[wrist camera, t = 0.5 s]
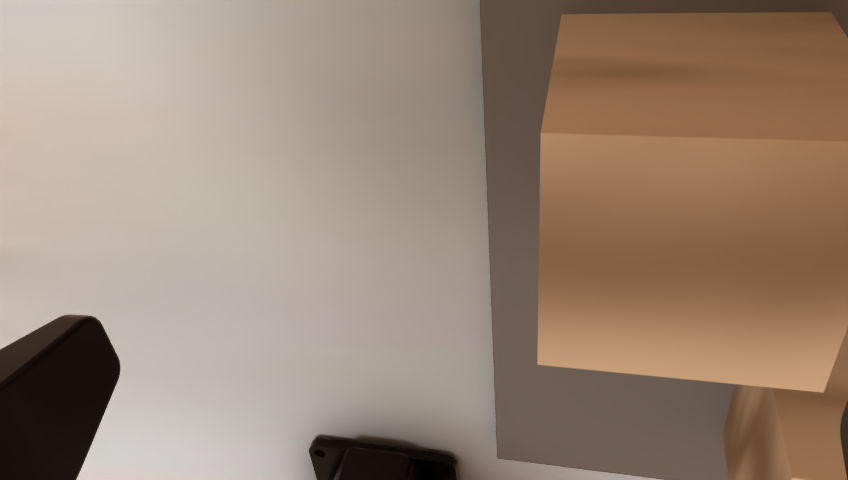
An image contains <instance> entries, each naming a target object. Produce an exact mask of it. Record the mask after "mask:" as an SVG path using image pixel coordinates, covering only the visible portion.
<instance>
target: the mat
mask: <svg viewBox="0 0 848 480" xmlns="http://www.w3.org/2000/svg"><path fill="white" fill-rule="evenodd" d="M754 12H831V13H832V14H833V16H834V17H835V19H836V20H837V22H838V23H839V25H840V27H841V28H842V30H843V31H844V33H845V34H846V36H847V38H848V0H480V18H481V44H482V70H483V96H484V123H485V149H486V175H487V201H488V228H489V254H490V280H491V306H492V333H493V359H494V385H495V411H496V438H497V458H499V459H507V460H515V461H523V462H531V463H538V464H546V465H554V466H562V467H570V468H578V469H586V470H593V471H601V472H609V473H617V474H625V475H633V476H641V477H648V478H656V479H664V480H729V477H728V470H727V463H726V455H725V448H724V441H723V431H724V427H725V423H726V419H727V415H728V412H729V408H730V404H731V400H732V396H733V392H734V388H735V384H730V383H719V382H709V381H699V380H688V379H678V378H668V377H658V376H647V375H637V374H627V373H617V372H606V371H596V370H586V369H576V368H565V367H555V366H545V365H537V355H538V284H539V212H540V141H541V128H542V122H543V117H544V111H545V105H546V100H547V94H548V88H549V82H550V77H551V71H552V65H553V60H554V54H555V48H556V43H557V37H558V31H559V26H560V20H561V14H631V13H754Z"/></svg>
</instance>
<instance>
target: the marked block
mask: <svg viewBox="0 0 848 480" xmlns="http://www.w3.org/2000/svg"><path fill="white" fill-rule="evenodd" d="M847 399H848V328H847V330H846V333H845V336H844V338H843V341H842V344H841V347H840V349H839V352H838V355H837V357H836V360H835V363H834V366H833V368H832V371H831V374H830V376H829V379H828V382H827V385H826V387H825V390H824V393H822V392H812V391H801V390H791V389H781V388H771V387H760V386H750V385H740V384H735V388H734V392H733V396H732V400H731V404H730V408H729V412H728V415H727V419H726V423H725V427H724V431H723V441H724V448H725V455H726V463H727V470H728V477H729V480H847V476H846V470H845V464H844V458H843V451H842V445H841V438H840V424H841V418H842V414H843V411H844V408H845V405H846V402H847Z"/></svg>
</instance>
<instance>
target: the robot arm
mask: <svg viewBox="0 0 848 480" xmlns="http://www.w3.org/2000/svg"><path fill="white" fill-rule="evenodd" d="M119 375H120V361H119V358H118V356H117V354H116V352H115V350H114V348H113V346H112V344H111V342H110V340H109V338H108V336H107V334H106V332H105V330H104V328H103V326H102V324H101V322H100V321H99V320H98V319H97V318H95V317H93V316H87V315H71V314H70V315H64V316H61V317H59V318H57V319H55V320H53V321H51V322H50V323H48V324H46V325H44V326H42V327H40V328H39V329H37V330H35V331H33V332H31V333H30V334H28V335H26V336H24V337H22V338H20V339H19V340H17V341H15V342H13V343H11V344H10V345H8V346H6V347H4V348H2V349H0V480H76V479H77V477H78V474H79V472H80V470H81V468H82V465H83V463H84V461H85V458H86V456H87V453H88V451H89V449H90V446H91V444H92V441H93V439H94V437H95V434H96V432H97V429H98V427H99V425H100V422H101V420H102V417H103V415H104V413H105V410H106V408H107V405H108V403H109V400H110V398H111V396H112V393H113V391H114V388H115V386H116V384H117V381H118V378H119ZM840 438H841V445H842V451H843V458H844V464H845V470H846V476H847V480H848V399H847V402H846V405H845V408H844V411H843V414H842V418H841V424H840ZM309 453H310V457H311V460H312V464H313V467H314V471H315V474H316V478H317V480H459V472H458V463H457V460H456V459H455V458H453V457H451V456H449V455H445V454H437V453H429V452H422V451H414V450H406V449H398V448H390V447H383V446H375V445H367V444H359V443H351V442H343V441H336V440H328V439H315V440H313V441H312V443H311V446H310V448H309Z"/></svg>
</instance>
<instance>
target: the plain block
mask: <svg viewBox="0 0 848 480" xmlns="http://www.w3.org/2000/svg"><path fill="white" fill-rule="evenodd" d="M847 328H848V38H847V36H846V34H845V33H844V31H843V30H842V28H841V27H840V25H839V23H838V22H837V20H836V19H835V17H834V16H833V14H832V13H831V12H754V13H631V14H561V20H560V26H559V31H558V37H557V43H556V48H555V54H554V60H553V65H552V71H551V77H550V82H549V88H548V94H547V100H546V105H545V111H544V117H543V122H542V128H541V141H540V212H539V284H538V355H537V365H545V366H555V367H565V368H576V369H586V370H596V371H606V372H617V373H627V374H637V375H647V376H658V377H668V378H678V379H688V380H699V381H709V382H719V383H730V384H740V385H750V386H760V387H771V388H781V389H791V390H801V391H812V392H822V393H824V390H825V387H826V385H827V382H828V379H829V376H830V374H831V371H832V368H833V366H834V363H835V360H836V357H837V355H838V352H839V349H840V347H841V344H842V341H843V338H844V336H845V333H846V330H847Z"/></svg>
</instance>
